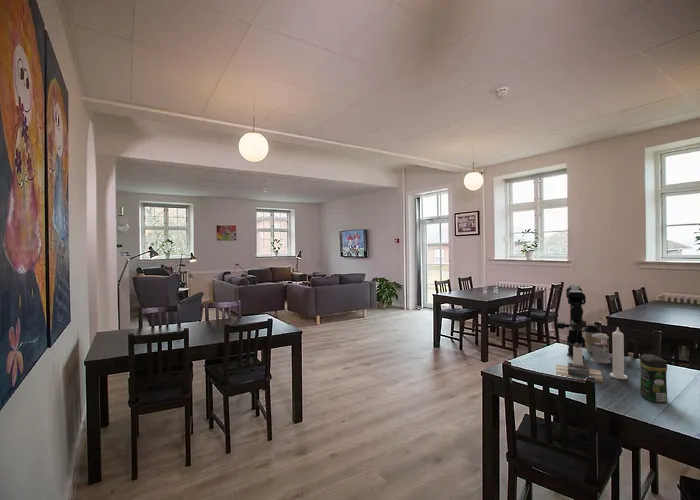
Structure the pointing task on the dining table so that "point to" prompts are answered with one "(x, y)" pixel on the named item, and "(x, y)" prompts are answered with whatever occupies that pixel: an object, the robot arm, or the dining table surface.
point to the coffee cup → (591, 338)
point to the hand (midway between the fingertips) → (576, 342)
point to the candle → (618, 355)
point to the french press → (600, 349)
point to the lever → (577, 354)
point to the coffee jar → (653, 378)
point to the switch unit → (578, 372)
